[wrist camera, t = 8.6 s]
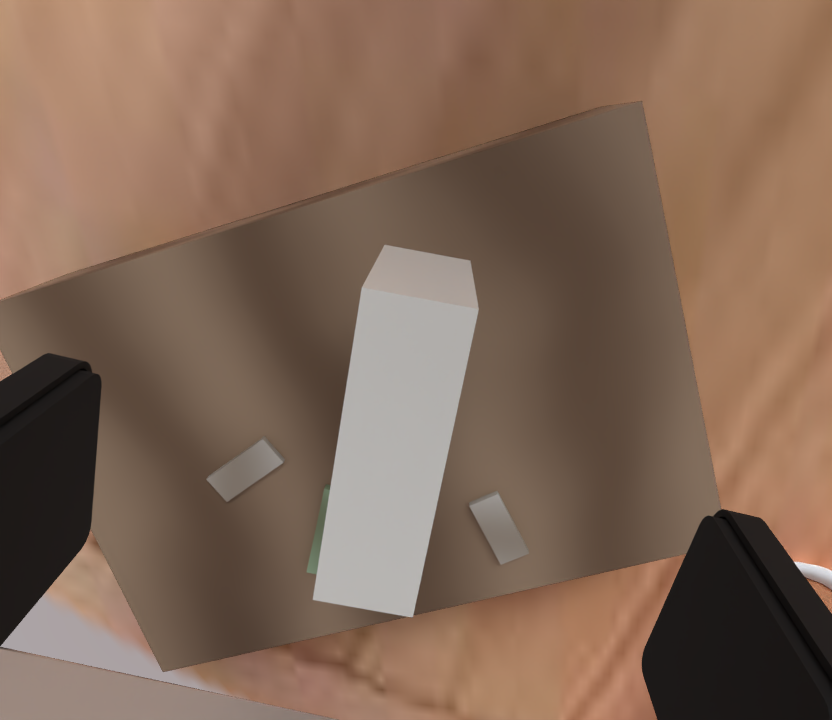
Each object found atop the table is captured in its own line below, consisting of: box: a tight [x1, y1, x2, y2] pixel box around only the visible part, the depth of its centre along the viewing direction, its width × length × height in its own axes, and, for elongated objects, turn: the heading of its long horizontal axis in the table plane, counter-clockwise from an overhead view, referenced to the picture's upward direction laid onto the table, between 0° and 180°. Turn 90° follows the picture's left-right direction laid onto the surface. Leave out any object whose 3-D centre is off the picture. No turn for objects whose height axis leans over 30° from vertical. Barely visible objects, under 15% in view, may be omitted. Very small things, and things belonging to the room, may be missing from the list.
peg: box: [313, 245, 479, 618], centre depth 18 cm, size 10×2×7 cm, turn 170°
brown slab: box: [0, 101, 721, 672], centre depth 24 cm, size 20×14×5 cm
